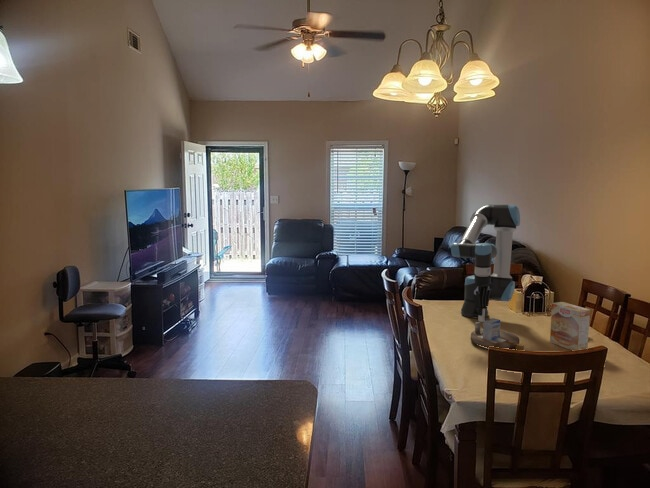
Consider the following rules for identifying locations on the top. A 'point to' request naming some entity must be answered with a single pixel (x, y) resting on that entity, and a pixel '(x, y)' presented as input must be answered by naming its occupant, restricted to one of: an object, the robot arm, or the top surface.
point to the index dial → (502, 342)
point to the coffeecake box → (569, 326)
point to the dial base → (518, 347)
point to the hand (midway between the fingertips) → (481, 321)
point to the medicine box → (491, 329)
